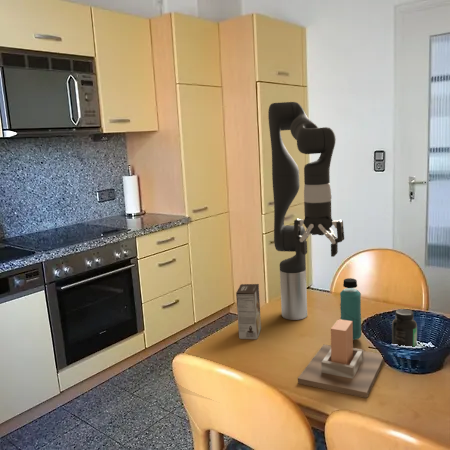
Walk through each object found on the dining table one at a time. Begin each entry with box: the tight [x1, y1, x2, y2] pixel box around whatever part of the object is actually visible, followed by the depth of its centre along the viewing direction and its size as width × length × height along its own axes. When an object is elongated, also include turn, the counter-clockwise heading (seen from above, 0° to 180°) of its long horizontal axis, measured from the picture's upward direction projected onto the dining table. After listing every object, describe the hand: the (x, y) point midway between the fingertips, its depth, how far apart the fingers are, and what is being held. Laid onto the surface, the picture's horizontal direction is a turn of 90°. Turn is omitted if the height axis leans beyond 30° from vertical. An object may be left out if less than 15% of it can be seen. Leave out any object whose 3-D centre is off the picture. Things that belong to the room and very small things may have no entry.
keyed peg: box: [330, 318, 354, 365], centre depth 129 cm, size 4×7×12 cm, turn 150°
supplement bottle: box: [391, 308, 418, 347], centre depth 139 cm, size 7×7×12 cm
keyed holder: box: [297, 344, 385, 399], centre depth 130 cm, size 22×18×4 cm
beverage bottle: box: [339, 277, 363, 341], centre depth 147 cm, size 6×7×20 cm
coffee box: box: [235, 283, 262, 340], centre depth 157 cm, size 9×6×16 cm
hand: (319, 255), depth 137 cm, fingers open, 8 cm apart
